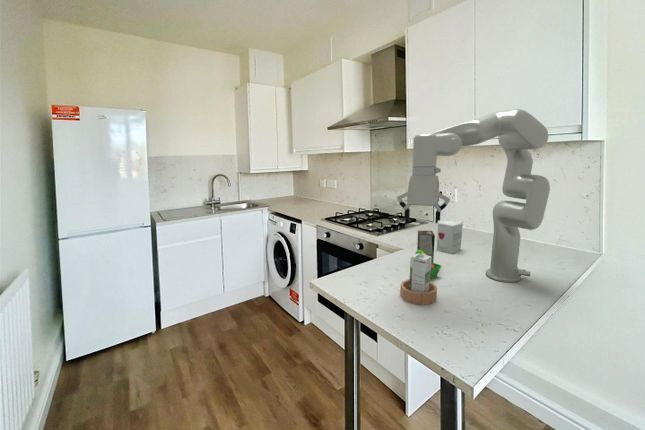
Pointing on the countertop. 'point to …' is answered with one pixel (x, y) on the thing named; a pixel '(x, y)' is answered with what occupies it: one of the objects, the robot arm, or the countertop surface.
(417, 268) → the syrup box
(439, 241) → the supplement box
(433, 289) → the bowl
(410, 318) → the countertop surface
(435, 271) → the fruit basket
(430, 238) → the coffee box
